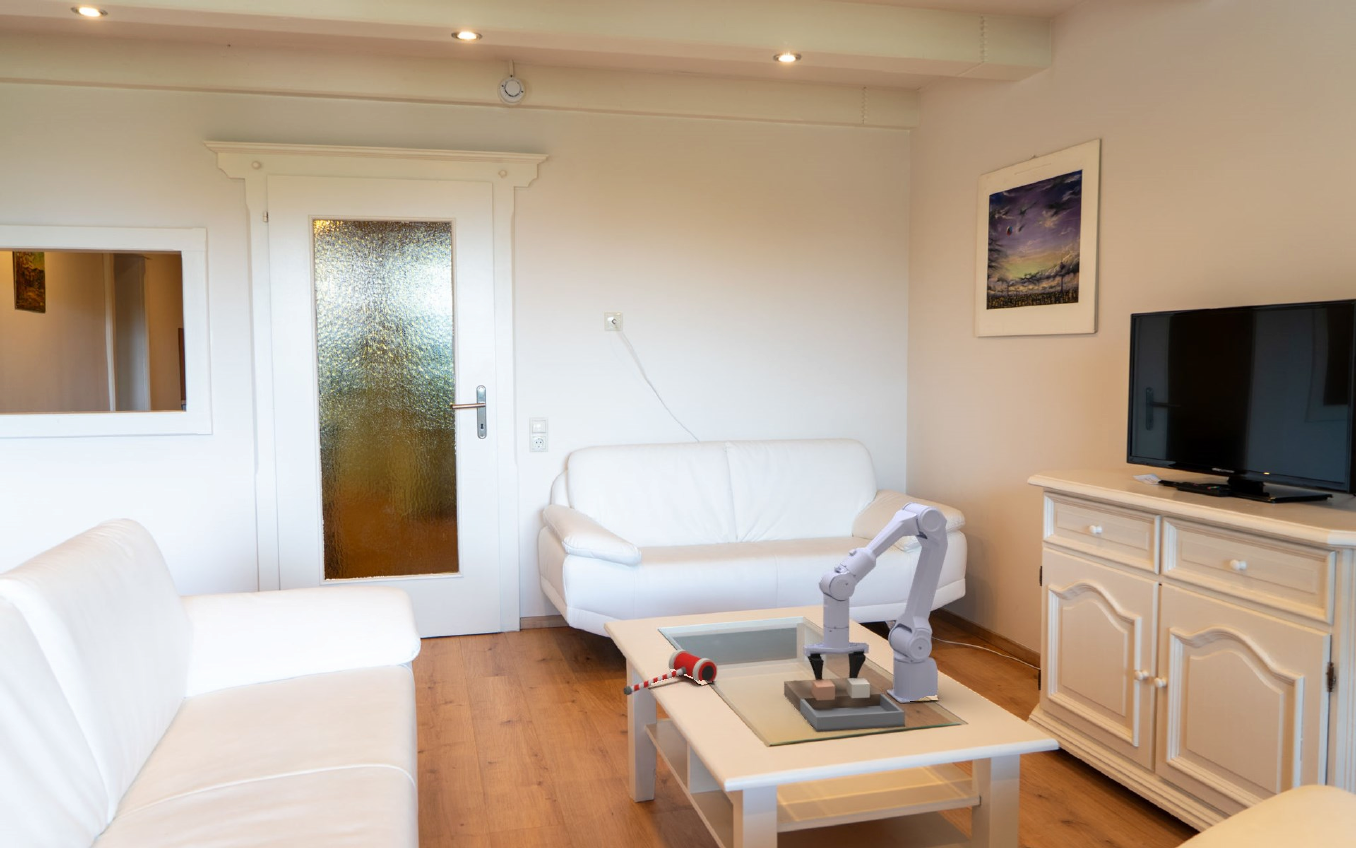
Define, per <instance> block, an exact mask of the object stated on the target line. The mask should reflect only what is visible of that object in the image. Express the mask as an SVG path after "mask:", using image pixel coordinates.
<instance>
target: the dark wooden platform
mask: <svg viewBox="0 0 1356 848" xmlns="http://www.w3.org/2000/svg"><path fill="white" fill-rule="evenodd" d="M847 678H848V677H838V678H836V677H835V678H829V679H830V680H831V682H832V683H833V684H834V685H835V699H833V700H816V698H815V697H814V696H813V694H812V680H813V679H804V680H803V679H802V680H785V681H783V695H784V696H785V697H786V699H788V700H789V701H790V703H791V705H793V706H794V707H795V709H796V710H797V711H798V712H799V713H800V699H804V700H805V701H806V702H807V703H808V704H809V705H810V706H811V707H812V708H813V709H814V710H817V709H834V708H850V707H866V706H880V694H884V693H883V692H881V690H879V689H878V688H877V687H876V686H874V685H873V684H872V683H871V682H869V681H868V682H869V684H870V697H867V698H851V697H850V695H849V694H848V693H847ZM857 678H865V677H863V676H858V677H857Z"/></svg>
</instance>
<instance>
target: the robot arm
mask: <svg viewBox="0 0 1356 848" xmlns="http://www.w3.org/2000/svg"><path fill="white" fill-rule="evenodd" d="M947 523H948V519H947V518H946V516H945V514H944V513H943V512H942V511H941V509H939V508H938V507H936V506H933V505H932V506H928V505H925V504H921V503H918V502H915V501H911V502H907V503H906V504H904V505H903V506H902V508H901V509H899V510H898V511H896V512H895V514H894V515H893V517H892V519H891V520H890V521H889V522H888V523H887V524H886V525H885V527H883V528H882V529H881V530H880V532H879V533H878V534H877V535H876V536H875V537H874V538H873V539H872V540H871V541H870V542H869V543H868V544H867V545H866V546H865V547H857V548H855V549H854V548H852V549H850V551H848V553H849V555H848V556H846V558H845V559H843V560H842V562H840V563H839V564H836V565H835V566H834V567H833V568H834V570H833V569H832V570H828V571H826V572H825V573H824V574H823V575H822V577H821V579H820V582H818V588H819V589H820V591H821V593H822V594H823V605H822V607H823V609H822V610H823V615H822V616H823V617H822V619H823V620H822V623H823V626H822V627H823V630H822V635H823V636H822V640H823V641H822V642H820V643H815V644H807V645H803V656H805V657H806V658H807V659H808V662H809V664H810V666H811V668H812V671H813V674H814V680H820V679H823V668H824V662H825V661H824V660H823V658H822V656H823V655H825V656H826V655H844V654H848V664H849V665H848V666H849V668H848V669H849V673H848V674H849V675H848V678H857V677H859V673H860V671H861V669H862V666H863V665H864V663H865V662H866V657H867V656H866V655H865V654H870V653H869V652H870V648H869V646H870V645H869V644H868V643H867V642H852V641H850V598H851V597H852V596H853V595H854V593H855V589H856V586H857V585H858V583H860V582H861V581H862V580H863V579H864V578H865V577H866V576H867V575H868V574H869V573H871V571H873V570H874V569H875V567H876V565H877V559H878V557H880V556H881V555H882V554H884V553H885V552H886V551H887V550H888V549H890V548H891V547H892V546H893V545H894V544H895V543H897V542H898V541H899V540H901V539H902V538H903V537H913V536H914V537H915V539H917V541H918V543H919V544H920V546H921V549H920V553H919V555H918V557H919V558H918V559H917V564H916V568H915V573H914V575H913V579H912V583H911V586H910V590H909V593H908V599H907V602H906V605H905V609H904V612H903V613H902V614H900V616H898V617H897V618H896V620H895V621H896V622H895V624H894V625H893V627H892V629H891V630H889V634H888V637H887V639H888V640H887V641H888V645H889V647H890V648H891V649H892V650H893V652H892V653H893V654H892V655H893V660H892V661H893V668H892V669H893V672H892V673H893V674H892V675H893V676H892V677H893V679H892V681H893V682H892V686H893V687H892V688H893V689H887V690H886V693H887V694H888V695H889V696H891V697H892V698H893V699H895V700H896V701H897V702H898V703H900V704H903V703H904V704H905V703H911V702H910V701H915V700H919V699H920V698H924V697H926V696H935V695H938V693H939V692H938V689H939V688H938V686H939V685H938V684H939V681H938V679H939V678H938V677H939V672H938V666H937V662H936V660H935V659H934V658H933V657H930V654H931V652H932V650H933V649H932V648H933V647H932V646H933V644H932V634H933V629H932V626H931V624H930V622H929V618H930V614H931V610H932V606H933V604H934V600H935V596H936V592H937V589H938V585H939V582H940V577H941V574H942V571H943V570H942V569H943V566H944V562H945V558H946V555H947V551H948V548H949V547H948V546H949V543H948V535H947V529H946V526H947Z"/></svg>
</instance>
